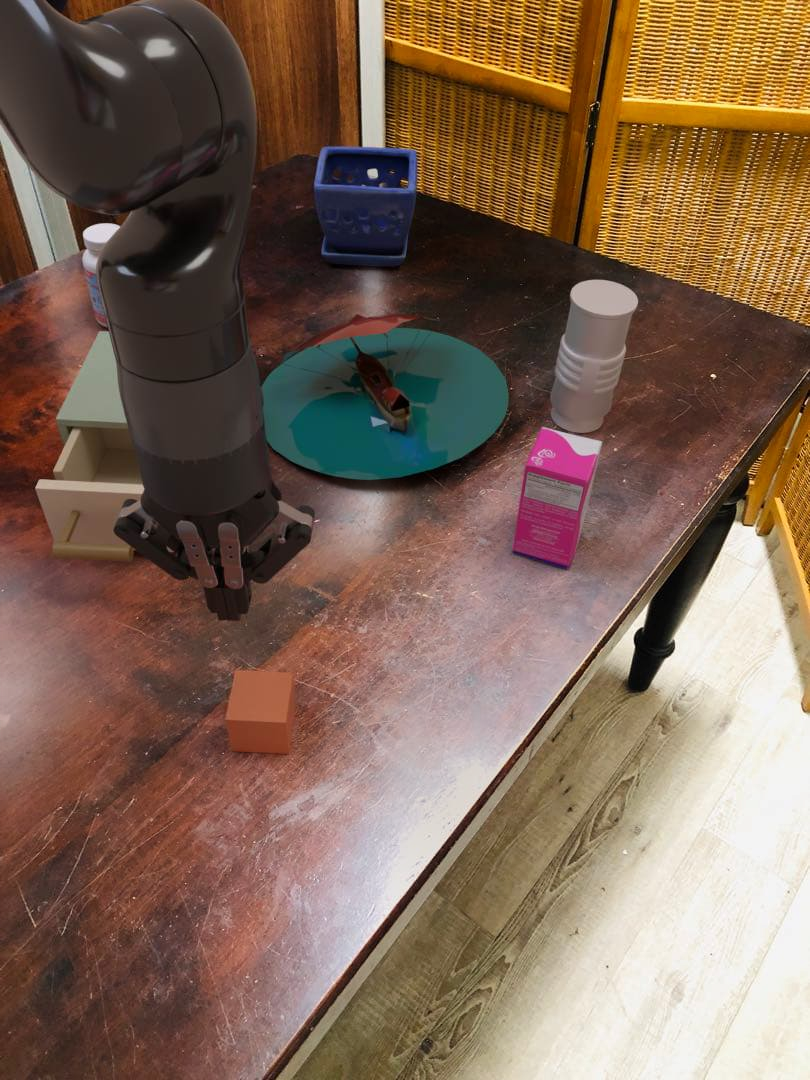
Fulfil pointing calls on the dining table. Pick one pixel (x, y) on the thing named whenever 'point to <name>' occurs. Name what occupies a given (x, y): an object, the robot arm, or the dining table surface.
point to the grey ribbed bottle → (591, 354)
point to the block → (261, 711)
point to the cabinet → (94, 392)
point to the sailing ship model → (382, 400)
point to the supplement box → (555, 497)
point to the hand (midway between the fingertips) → (232, 611)
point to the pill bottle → (94, 244)
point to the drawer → (91, 494)
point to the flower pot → (365, 204)
